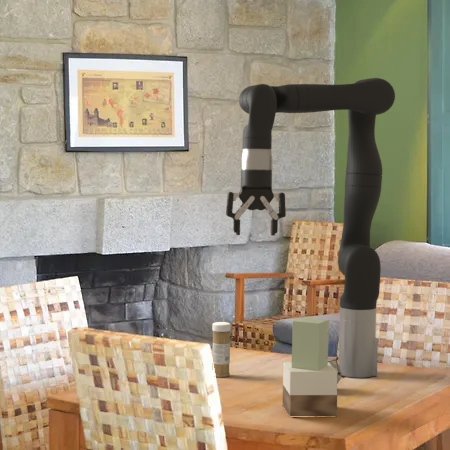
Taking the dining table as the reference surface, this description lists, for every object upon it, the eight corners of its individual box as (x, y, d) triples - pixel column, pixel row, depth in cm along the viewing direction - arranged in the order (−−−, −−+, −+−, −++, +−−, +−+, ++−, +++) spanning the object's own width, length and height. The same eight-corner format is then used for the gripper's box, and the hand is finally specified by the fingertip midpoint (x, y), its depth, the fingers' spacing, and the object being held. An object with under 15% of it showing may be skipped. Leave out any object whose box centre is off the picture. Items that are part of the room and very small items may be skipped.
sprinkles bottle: (222, 373, 245) (222, 320, 244) (233, 376, 241) (234, 323, 241) (207, 375, 242) (208, 322, 241) (219, 378, 238) (220, 324, 238)
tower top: (327, 384, 213) (328, 361, 212) (336, 394, 203) (337, 371, 203) (283, 384, 212) (283, 362, 212) (289, 395, 202) (290, 371, 202)
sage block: (291, 367, 206) (292, 321, 205) (301, 362, 211) (302, 317, 211) (317, 370, 203) (319, 323, 203) (327, 365, 208) (328, 319, 208)
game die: (331, 404, 229) (356, 371, 230) (324, 399, 221) (350, 364, 222) (302, 382, 233) (327, 349, 233) (294, 376, 225) (319, 342, 226)
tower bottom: (327, 406, 213) (327, 384, 213) (336, 418, 203) (337, 394, 203) (282, 406, 212) (282, 384, 212) (290, 418, 202) (290, 395, 202)
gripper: (229, 167, 227) (228, 236, 228) (288, 168, 229) (287, 236, 230) (225, 167, 234) (224, 234, 235) (282, 168, 236) (281, 234, 237)
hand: (255, 235), depth 232 cm, fingers open, 8 cm apart
